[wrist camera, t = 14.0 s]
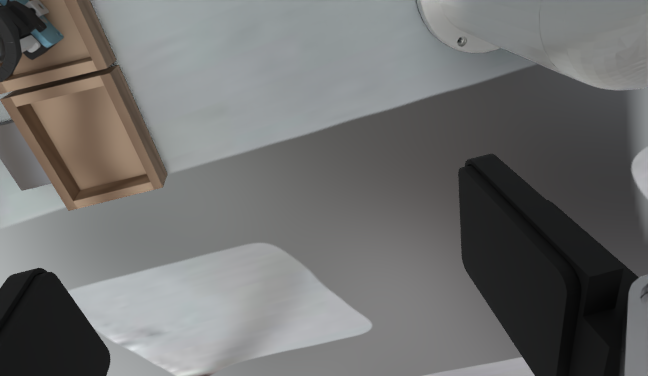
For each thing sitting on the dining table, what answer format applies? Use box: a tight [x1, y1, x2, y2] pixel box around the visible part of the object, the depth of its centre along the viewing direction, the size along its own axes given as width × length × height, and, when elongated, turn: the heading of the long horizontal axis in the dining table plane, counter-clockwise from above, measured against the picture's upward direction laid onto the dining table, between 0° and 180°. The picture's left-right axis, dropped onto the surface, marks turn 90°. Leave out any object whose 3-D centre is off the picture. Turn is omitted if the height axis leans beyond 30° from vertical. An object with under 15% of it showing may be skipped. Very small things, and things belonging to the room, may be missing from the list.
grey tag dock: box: [0, 65, 167, 211], centre depth 37 cm, size 12×11×3 cm
